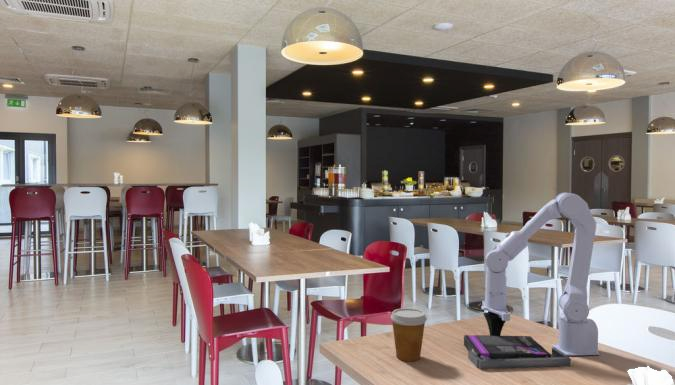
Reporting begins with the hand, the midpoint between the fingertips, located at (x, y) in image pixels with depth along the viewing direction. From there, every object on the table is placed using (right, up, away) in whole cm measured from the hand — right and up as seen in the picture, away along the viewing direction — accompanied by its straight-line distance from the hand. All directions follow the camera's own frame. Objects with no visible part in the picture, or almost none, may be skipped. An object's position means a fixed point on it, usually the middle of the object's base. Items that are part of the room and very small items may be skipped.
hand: (494, 338), depth 139 cm
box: (0, -2, -8) cm, 9 cm away
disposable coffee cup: (-27, -2, -11) cm, 29 cm away
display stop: (+1, -2, -15) cm, 15 cm away
